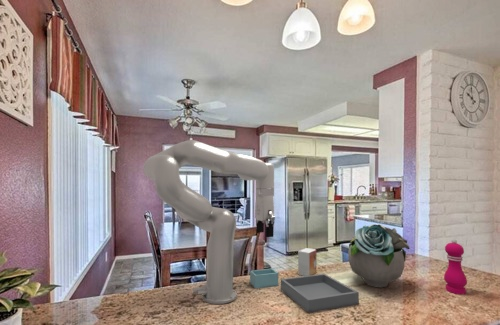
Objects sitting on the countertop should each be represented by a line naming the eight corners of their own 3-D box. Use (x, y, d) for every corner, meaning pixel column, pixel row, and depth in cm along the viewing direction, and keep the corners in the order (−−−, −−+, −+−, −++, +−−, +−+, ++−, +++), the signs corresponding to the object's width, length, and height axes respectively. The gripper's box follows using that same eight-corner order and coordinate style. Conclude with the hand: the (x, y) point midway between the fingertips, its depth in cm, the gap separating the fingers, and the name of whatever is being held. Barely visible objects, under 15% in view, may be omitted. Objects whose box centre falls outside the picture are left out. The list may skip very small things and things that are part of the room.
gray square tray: (308, 313, 89) (308, 300, 90) (280, 289, 108) (280, 279, 108) (358, 304, 96) (358, 292, 96) (324, 283, 115) (324, 273, 115)
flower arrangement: (425, 291, 108) (423, 227, 110) (376, 300, 99) (375, 230, 101) (375, 271, 131) (374, 218, 133) (331, 277, 122) (331, 221, 124)
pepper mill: (445, 292, 107) (444, 239, 108) (443, 286, 113) (441, 236, 115) (469, 296, 104) (467, 241, 105) (465, 289, 110) (463, 238, 111)
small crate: (255, 288, 109) (255, 275, 109) (249, 283, 114) (250, 270, 115) (278, 285, 112) (278, 272, 113) (272, 280, 118) (272, 268, 118)
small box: (309, 277, 122) (309, 252, 123) (297, 274, 126) (297, 250, 126) (316, 272, 129) (316, 249, 129) (305, 270, 132) (305, 247, 133)
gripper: (249, 191, 122) (248, 231, 121) (264, 193, 106) (264, 239, 105) (265, 191, 125) (264, 230, 124) (282, 193, 109) (282, 238, 108)
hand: (264, 234), depth 115 cm, fingers open, 9 cm apart
